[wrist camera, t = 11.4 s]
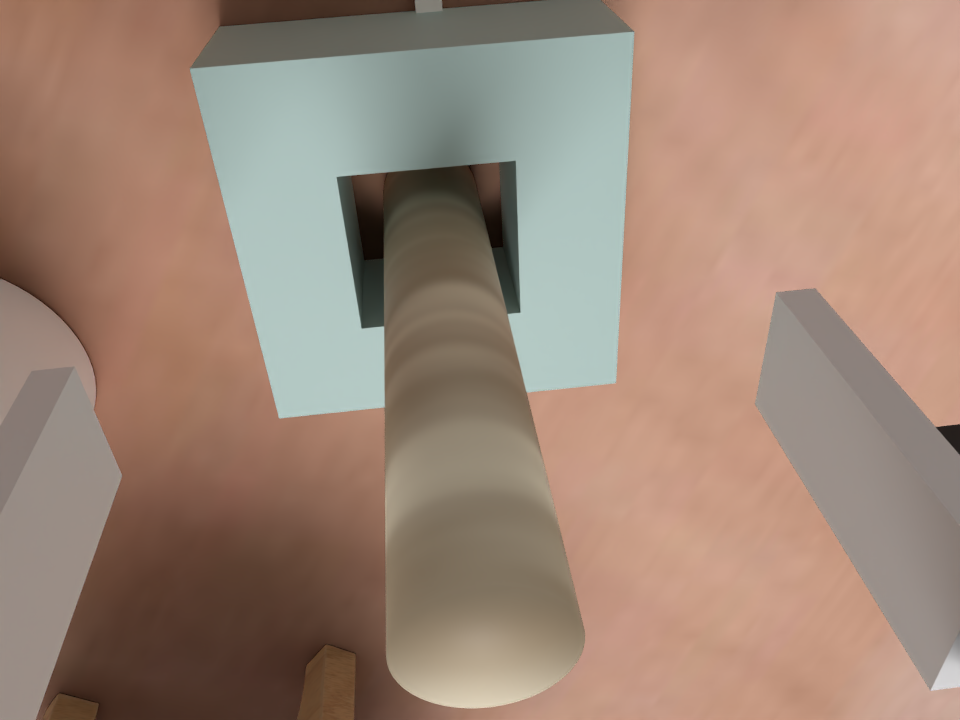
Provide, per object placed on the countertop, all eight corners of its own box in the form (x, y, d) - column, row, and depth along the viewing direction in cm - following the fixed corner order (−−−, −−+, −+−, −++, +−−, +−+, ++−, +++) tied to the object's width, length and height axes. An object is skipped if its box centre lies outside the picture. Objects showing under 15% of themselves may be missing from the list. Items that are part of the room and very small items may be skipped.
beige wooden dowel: (377, 152, 24) (374, 597, 10) (473, 143, 24) (586, 572, 11) (389, 239, 25) (398, 718, 12) (478, 230, 25) (583, 695, 12)
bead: (219, 26, 21) (189, 68, 18) (596, -4, 22) (634, 31, 18) (291, 342, 27) (279, 418, 24) (587, 313, 27) (615, 383, 24)
